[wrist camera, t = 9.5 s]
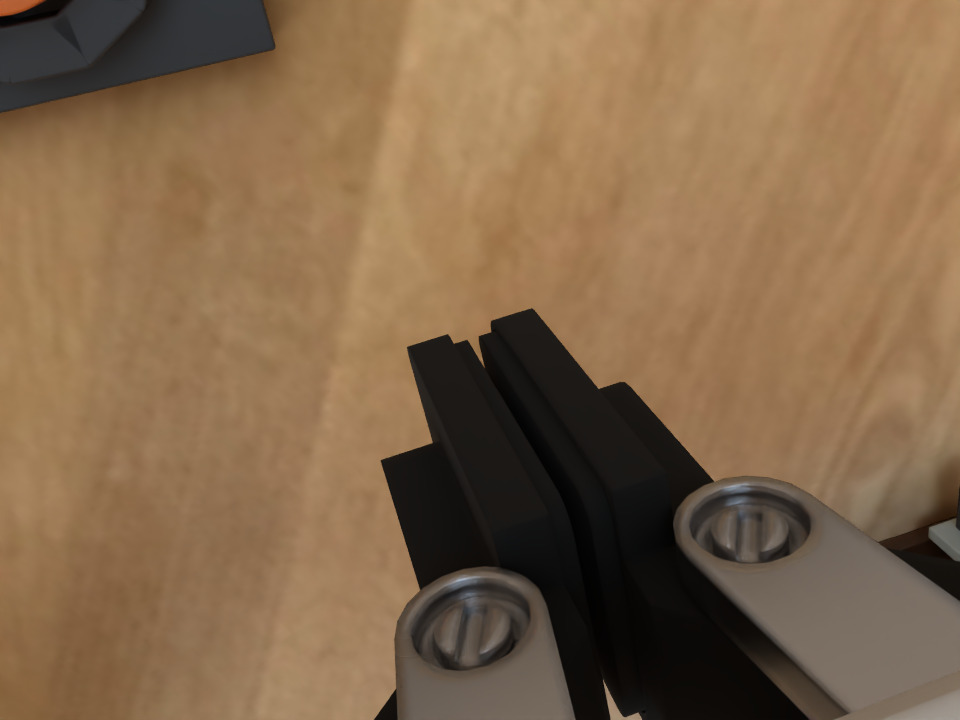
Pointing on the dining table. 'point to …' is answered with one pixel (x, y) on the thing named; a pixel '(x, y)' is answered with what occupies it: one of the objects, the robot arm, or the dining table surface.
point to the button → (16, 6)
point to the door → (948, 535)
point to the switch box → (119, 43)
